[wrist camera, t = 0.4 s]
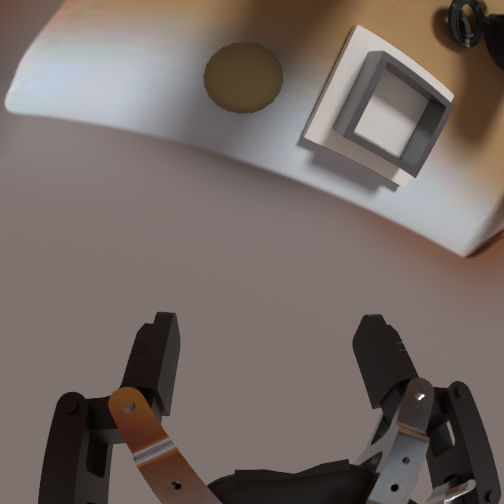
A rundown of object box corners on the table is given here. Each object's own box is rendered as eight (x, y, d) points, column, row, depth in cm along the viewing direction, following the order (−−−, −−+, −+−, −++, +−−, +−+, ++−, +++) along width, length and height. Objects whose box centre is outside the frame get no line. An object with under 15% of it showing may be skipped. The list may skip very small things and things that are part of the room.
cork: (287, 86, 23) (309, 97, 15) (235, 113, 25) (225, 140, 17) (257, 38, 20) (261, 18, 12) (203, 67, 22) (174, 66, 13)
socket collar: (368, 51, 19) (383, 50, 17) (436, 99, 21) (454, 105, 19) (332, 128, 25) (342, 136, 22) (401, 165, 27) (415, 178, 24)
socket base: (353, 25, 19) (357, 24, 18) (448, 93, 22) (454, 95, 21) (302, 135, 27) (304, 137, 26) (400, 184, 30) (404, 188, 29)
